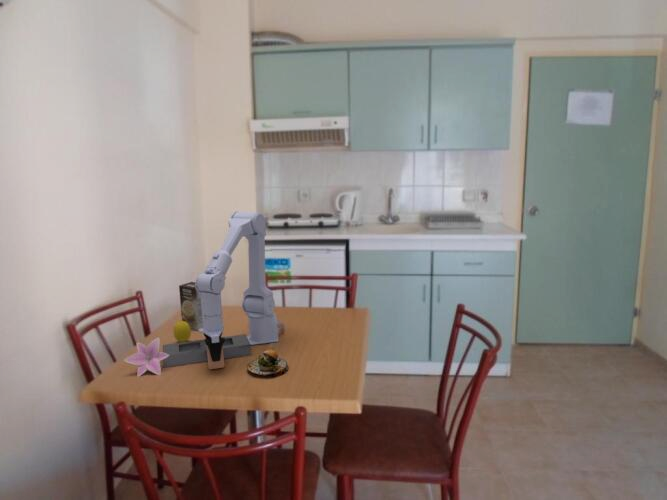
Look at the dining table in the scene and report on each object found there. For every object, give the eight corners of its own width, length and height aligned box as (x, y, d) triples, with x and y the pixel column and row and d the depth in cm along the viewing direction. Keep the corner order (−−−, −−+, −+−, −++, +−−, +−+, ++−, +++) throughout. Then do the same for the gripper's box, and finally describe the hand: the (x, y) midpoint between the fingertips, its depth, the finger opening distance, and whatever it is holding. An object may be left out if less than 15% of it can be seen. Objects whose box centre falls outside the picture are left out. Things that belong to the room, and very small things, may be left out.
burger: (242, 367, 145) (241, 343, 144) (280, 359, 150) (279, 336, 149) (253, 383, 135) (251, 357, 133) (293, 374, 139) (292, 349, 138)
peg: (223, 361, 148) (221, 339, 147) (224, 367, 144) (222, 344, 143) (208, 363, 147) (206, 341, 146) (209, 369, 143) (207, 346, 142)
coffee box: (181, 327, 182) (177, 285, 179) (194, 322, 187) (191, 281, 184) (198, 331, 177) (195, 288, 174) (211, 326, 182) (208, 284, 179)
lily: (121, 377, 143) (119, 357, 137) (143, 350, 151) (141, 331, 146) (156, 389, 141) (155, 370, 136) (175, 362, 150) (175, 343, 145)
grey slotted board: (246, 344, 163) (245, 334, 162) (250, 355, 154) (250, 344, 153) (163, 355, 155) (162, 344, 155) (163, 367, 146) (162, 356, 145)
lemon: (186, 346, 162) (184, 323, 161) (171, 345, 163) (169, 322, 162) (194, 340, 168) (192, 318, 166) (179, 339, 169) (177, 317, 167)
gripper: (196, 308, 148) (200, 350, 151) (199, 322, 135) (202, 369, 137) (220, 305, 150) (223, 347, 153) (225, 319, 137) (228, 365, 139)
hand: (215, 357), depth 145 cm, fingers closed on peg, 4 cm apart
